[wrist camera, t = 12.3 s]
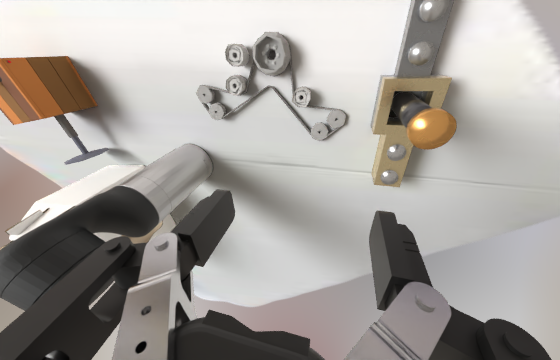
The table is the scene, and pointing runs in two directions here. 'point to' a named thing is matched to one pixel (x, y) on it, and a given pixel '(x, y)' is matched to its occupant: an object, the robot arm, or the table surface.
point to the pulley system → (268, 66)
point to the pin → (423, 121)
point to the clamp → (44, 94)
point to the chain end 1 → (420, 41)
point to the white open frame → (81, 193)
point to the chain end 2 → (400, 125)
